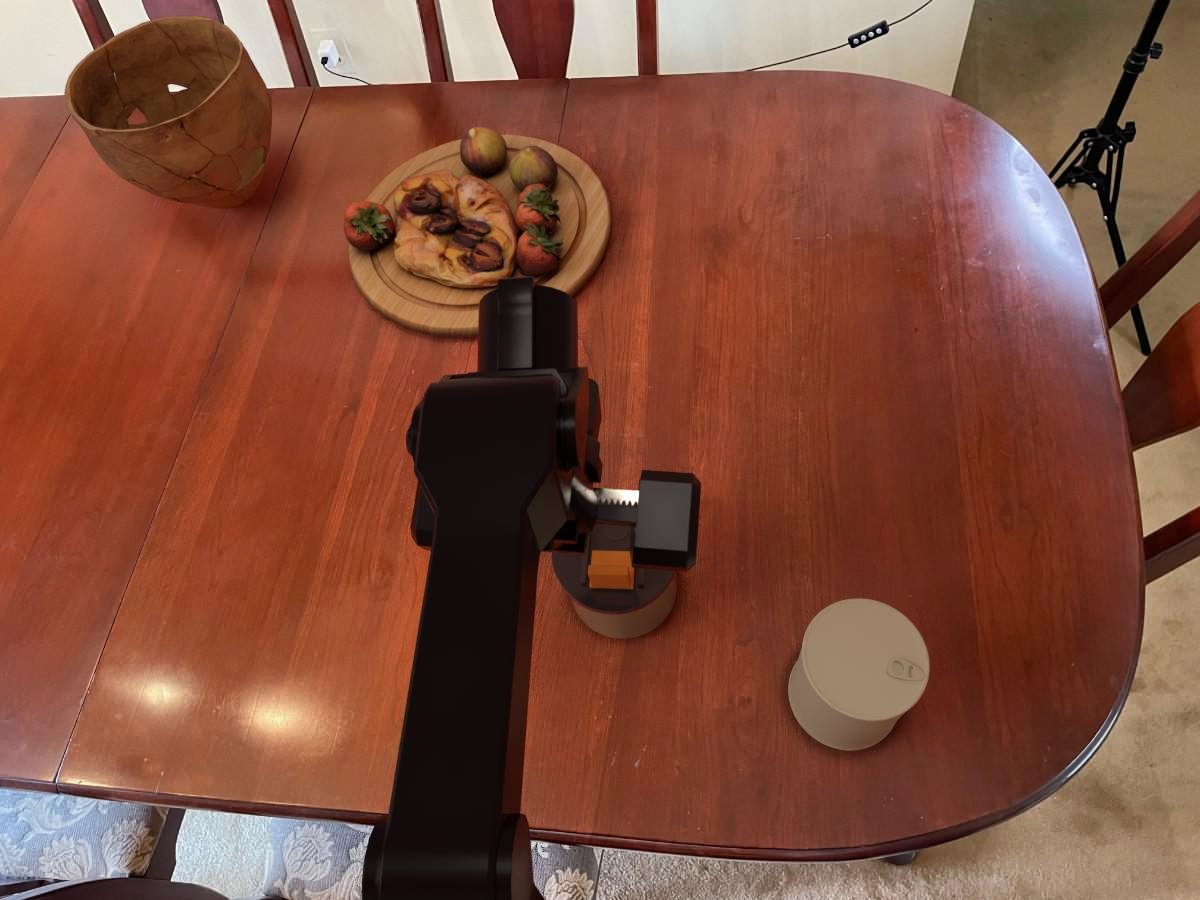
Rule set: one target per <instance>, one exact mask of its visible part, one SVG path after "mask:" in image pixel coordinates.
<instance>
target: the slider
mask: <svg viewBox="0 0 1200 900" xmlns="http://www.w3.org/2000/svg"><path fill="white" fill-rule="evenodd" d="M634 570H635V568H633V567H632V566H631V559H630V552H629V551H595V550H593V551H592V560H591V565H589V566H588V576H589V579H590V585H589V586H590V588H606V589H634Z"/></svg>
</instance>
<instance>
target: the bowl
mask: <svg viewBox="0 0 1200 900" xmlns="http://www.w3.org/2000/svg"><path fill="white" fill-rule="evenodd" d="M170 85H174V86H179V87H182V88H184V89H180V90H178V91H177V92H175V93H174V94H173V93H171V91H170V88H169V86H170ZM63 93H64V94H63V95H64V102H65V107H66V110H67V112H68V113H69V115H70V116H71V117H72V118H73V120H74V121H75V122H76V123H77V124H78V126H79V127H80V128H81V130H82V131H83V133H84V134H85V136H86V137H87V139H88V141H89V143H90V145H91V147H92V148H93V150H94V151H95V153H96V154H97V155H98V157H100V159H101V160H102V162H103V163H104V164H105V165H106V166H107V167H108V168H109V169H110V170H111V171H112V172H113V173H115V174H116V175H117V176H118V177H119V178H121V179H122V180H124V181H125V182H127V183H129V184H130V185H133V186H135V187H137V188H139V189H141V190H143V191H145V192H146V193H149V194H150V195H154V196H156V197H159V198H161V199H164V200H166V201H171V202H176V203H181V204H190V205H195V206H199V207H203V208H209V209H218V210H219V209H220V210H227V209H232V208H236V207H239V206H241V205H242V204H244V203H245V202H246V201H248V200H249V199H250V198H251V197H252V196H253V194H254V193H255V192H256V190H257V188H258V186H259V185H260V184H261V183H260V182H261V179H262V177H263V173H264V169H265V166H266V163H267V159H268V156H269V152H270V149H271V139H272V127H273V105H272V104H273V103H272V98H271V94H270V91H269V89H268V86H267V84H266V82H265V81H264V79H263V77H262V76H261V73H260V72H259V70H258V69H257V66H256V65H255V63H254V61H253V59H252V58H251V56H250V54H249V52H248V50H247V49H246V47H245V46H244V43H243V42H242V41H241V39H239V37H238V35H237V34H236V32H234V31H233V30H232V29H231V28H230V27H229V26H228V25H226V24H224V23H222V22H220V21H218V20H216V19H215V18H214V17H213V18H212V17H209V16H203V15H202V16H201V15H199V16H198V15H169V16H163V17H160V18H156V19H150V20H146V21H144V22H140V23H138V24H136V25H135V26H132V27H130V28H127V29H125V30H123V31H121V32H119V33H117V34H115V35H114V36H112V37H110V38H109V39H108V40H107V41H105V42H104V43H103V44H101V45H99V46H98V47H96V48H95V49H93V50H92V51H91V52H88V53H87V54H86V56H84V57H83V58H82V59H81V60H80V61H79V62H78V63H77V64H75V66H74V68H73V69H72V70H71V72H70V74H69V75H68V77H67V80H66V83H65V86H64V92H63ZM136 109H138V110H139V112H140V113H141V114H142V115H143V117H144V118H145V120H146V122H141V123H133V124H132V123H129V120H128V119H129V118H130V117H131V116H132V114H133V112H134V111H135V110H136ZM193 175H195V176H193Z"/></svg>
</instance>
